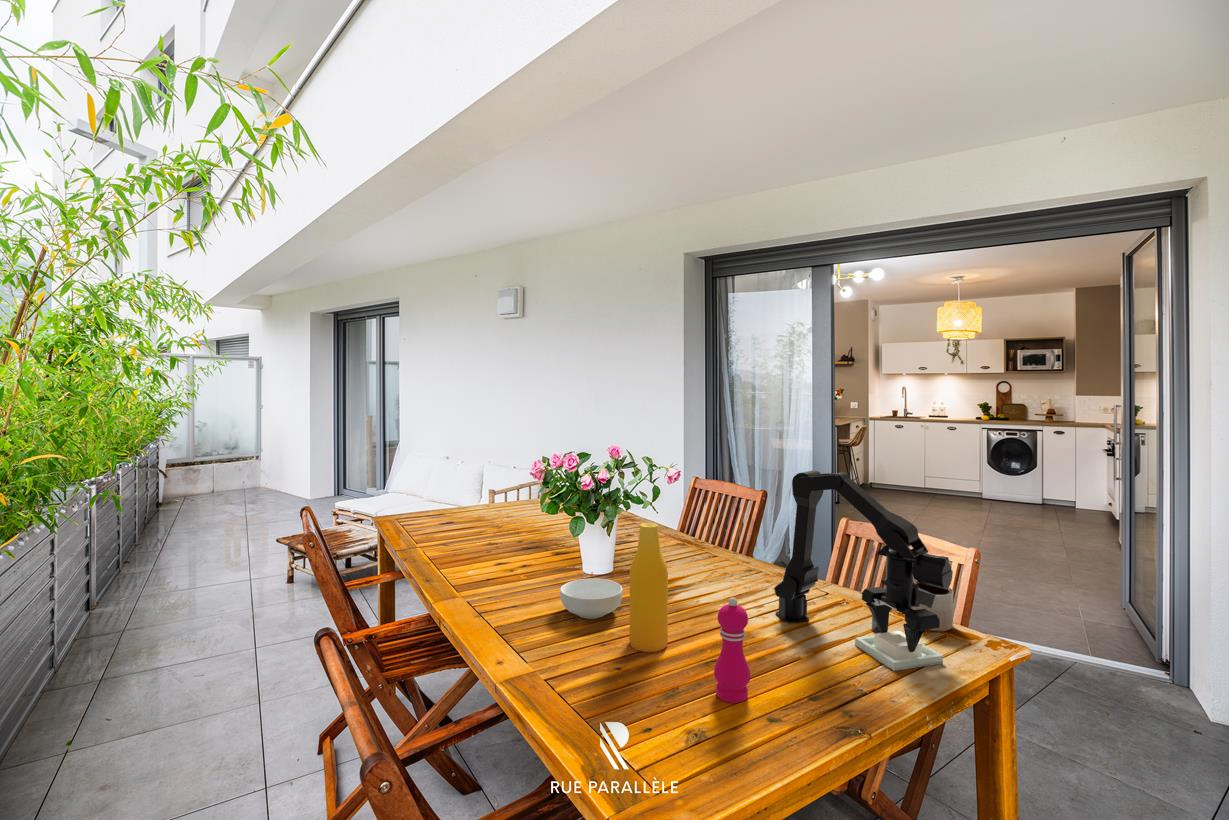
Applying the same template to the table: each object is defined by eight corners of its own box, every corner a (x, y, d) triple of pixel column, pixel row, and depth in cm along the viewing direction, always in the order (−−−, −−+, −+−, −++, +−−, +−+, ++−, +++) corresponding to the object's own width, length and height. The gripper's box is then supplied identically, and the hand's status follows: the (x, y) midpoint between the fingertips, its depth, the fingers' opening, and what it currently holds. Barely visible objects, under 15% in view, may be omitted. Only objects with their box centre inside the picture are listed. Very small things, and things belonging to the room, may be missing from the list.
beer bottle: (656, 656, 136) (657, 531, 134) (622, 646, 141) (622, 526, 139) (674, 641, 144) (675, 523, 142) (641, 632, 148) (641, 518, 147)
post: (875, 633, 148) (876, 615, 148) (869, 629, 150) (870, 612, 150) (883, 631, 149) (883, 614, 149) (877, 628, 151) (877, 611, 151)
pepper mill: (709, 686, 123) (710, 591, 122) (744, 684, 123) (745, 590, 122) (719, 705, 115) (720, 605, 114) (755, 703, 116) (756, 603, 115)
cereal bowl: (632, 607, 165) (632, 582, 164) (606, 630, 150) (606, 603, 149) (578, 597, 172) (578, 574, 172) (548, 619, 157) (548, 592, 157)
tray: (894, 671, 129) (894, 663, 129) (855, 645, 141) (855, 637, 141) (942, 663, 132) (943, 655, 132) (900, 638, 145) (900, 631, 145)
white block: (895, 660, 133) (896, 647, 133) (874, 646, 139) (874, 634, 139) (921, 656, 134) (922, 643, 134) (899, 643, 141) (899, 630, 141)
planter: (947, 618, 157) (949, 583, 157) (956, 635, 147) (958, 597, 146) (902, 613, 161) (903, 578, 160) (908, 629, 150) (909, 592, 150)
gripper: (961, 587, 129) (959, 657, 130) (899, 562, 147) (897, 623, 148) (919, 592, 126) (917, 664, 127) (861, 565, 144) (859, 628, 145)
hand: (897, 643), depth 137 cm, fingers open, 8 cm apart
